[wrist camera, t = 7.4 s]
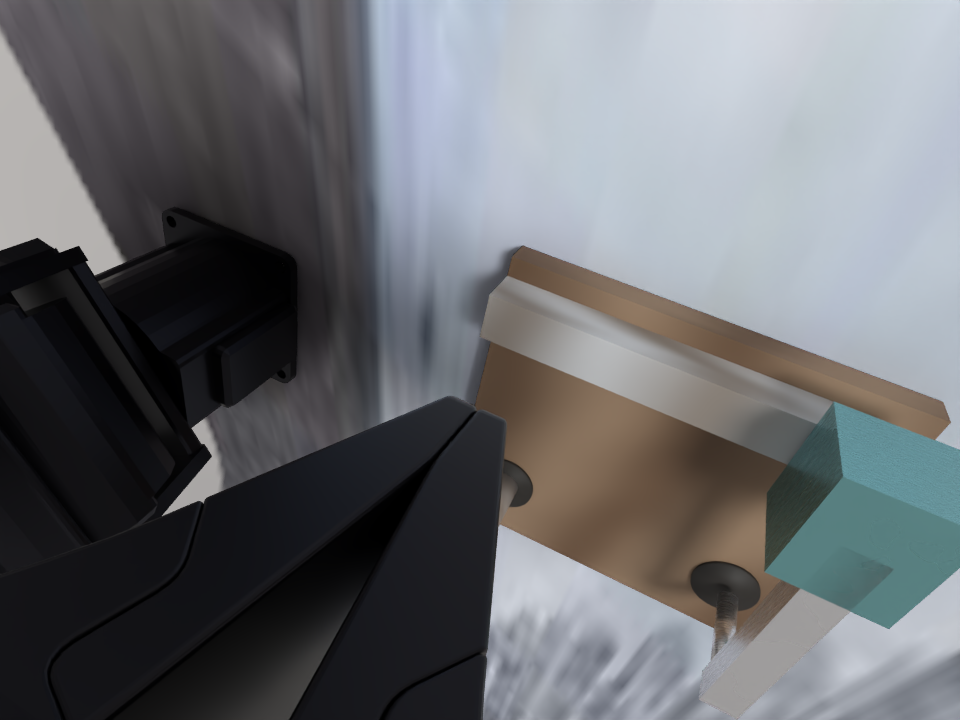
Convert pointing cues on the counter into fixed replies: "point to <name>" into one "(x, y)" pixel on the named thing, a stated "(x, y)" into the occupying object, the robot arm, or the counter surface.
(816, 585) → the leg
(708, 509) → the plate
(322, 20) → the counter surface
